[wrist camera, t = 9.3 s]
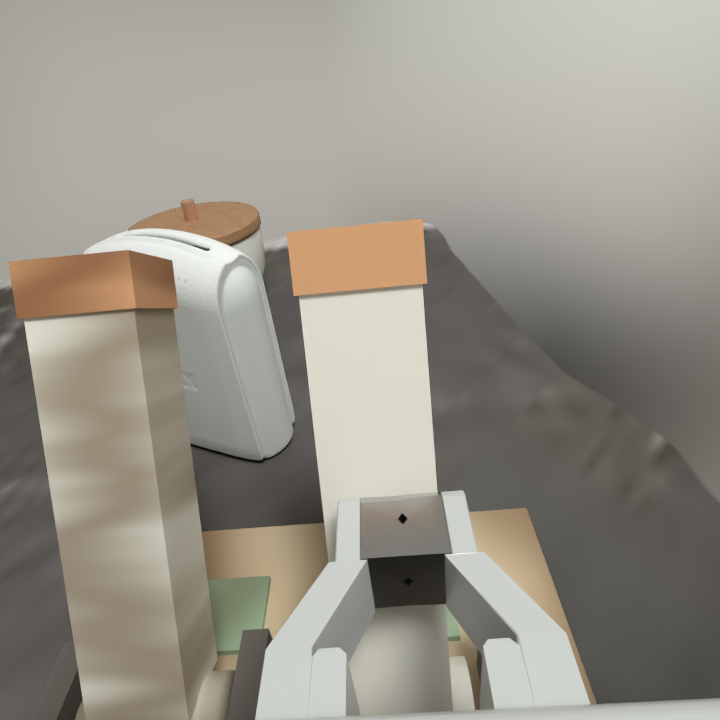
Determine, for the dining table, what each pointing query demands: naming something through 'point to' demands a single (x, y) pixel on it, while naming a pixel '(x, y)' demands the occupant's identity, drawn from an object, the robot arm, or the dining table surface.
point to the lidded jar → (215, 225)
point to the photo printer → (221, 343)
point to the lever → (376, 433)
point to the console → (170, 514)
